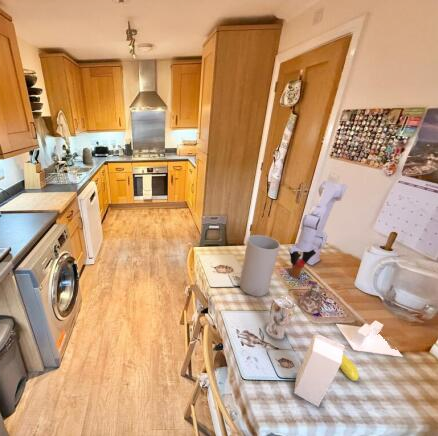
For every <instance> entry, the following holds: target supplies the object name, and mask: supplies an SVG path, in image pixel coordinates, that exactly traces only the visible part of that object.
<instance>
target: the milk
mask: <svg viewBox="0 0 438 436" xmlns="http://www.w3.org/2000/svg"><path fill="white" fill-rule="evenodd" d="M345 348H346V346H345V345H344V344H342V343H339V342H337V341H336V340H333V339H330V338H328V337H325V336H323V335H321V334H319V333H317V334H313V336H312V339H311V341H310V344H309V346H308V348H307V351H306V353H305V355H304V357H303V360H302V362H301V364H300V367H299V370H298V372H297V374H296V376H295V386H294V390H293V391H294V392H293V394H295V395H296V396H298V397H300V398H302V399H303V400H305V401H307V402H308V403H310V404H312V405H314V406H316V407H317V408H319V407H320V404H321V403H322V401H323V399H324V397H325V395H326V394H327V391H328V390H329V388H330V386H331V384H332V382H333V380H334V378H335V376H336V375H337V373H338V370H339V369H340V365H341V362H342V356H343V355H344V350H345Z"/></svg>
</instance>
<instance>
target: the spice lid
mask: <svg viewBox="0 0 438 436" xmlns="http://www.w3.org/2000/svg"><path fill="white" fill-rule="evenodd" d="M291 265H293V264H292V263H291ZM305 265H306V263H305V261H304V260H302V259H300V258H299V259H298V260H297V263H296V264H295V265H293V266H295V267H297V268H302V269H303V268H305Z"/></svg>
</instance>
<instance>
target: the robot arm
mask: <svg viewBox="0 0 438 436" xmlns="http://www.w3.org/2000/svg"><path fill="white" fill-rule="evenodd" d="M347 187H348V186H347V184H344V183H337V182H332V181H326V180H323V181H322V182H321V183H320V185H319V187H318V195H319V199H318V201H317V202H316V203H313V205H312V206H311V208H310V210H309V211H308V213H307V214H304V217H303V218H302V220H301V227H300V233H299V236H298V240H297V242H295V245H293V246H291V247H288V250H287V252H288V253H289V256H290V264H291V265H292V264H293V265H295V264H296V263H297V260H298V259H299V258H300V259H302V260H304V261H305V264H308V265H310V266H313V265H315V264H317V263H318V262H319V261H321V259H320V256H321V253H322V250H323V249H324V248H325V245H326V243H327V240H328V234H327V233H326V232H325V231H324V229H325V227H326V225H327V222H328V220H329V217H330V215H331V213H332V209H333V207H334V205H335V204H336V202H339V201H342V199H343V197H344V195H345V193H346V190H347ZM300 252H301V253H300Z"/></svg>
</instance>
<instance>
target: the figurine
mask: <svg viewBox="0 0 438 436" xmlns="http://www.w3.org/2000/svg"><path fill="white" fill-rule="evenodd" d="M323 291H324V289H323V287H322V286H321V285H320V284H318V281H313V284H312V285H310V289H309V290H306V291H305V292H304V293H303V295H302V297H301V298H300V300H299V307H300V308H302V310H304V311H305V312H306V313H309V314H312V315H313V314H319V313H320V310H321V308H322V303H323V300H324V299H323V296H322V293H323Z"/></svg>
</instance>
